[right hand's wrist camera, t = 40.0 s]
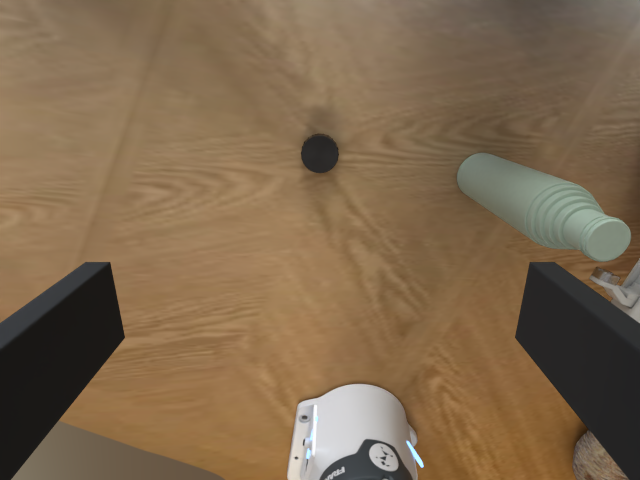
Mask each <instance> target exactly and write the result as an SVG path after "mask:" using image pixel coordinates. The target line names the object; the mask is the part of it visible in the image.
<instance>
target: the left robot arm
mask: <svg viewBox="0 0 640 480" xmlns="http://www.w3.org/2000/svg"><path fill="white" fill-rule="evenodd" d="M589 279H590V280H592V281H593V282H595V283H597V284H599V285H601V286H603V288H604V289H605V291H606V292H607V294H608V295H609V296H611V297H612V298H613V299H612V300H611V303H612V304H614V305H615V306H616V307H618V308H619V309H621V310H622V311H623V312H625V313H626V314H628V315H629V316H630V317H632V318H633V319H635V320H636V321H637V322H639V323H640V258H639V260H638V261H637V263H636V264H635V266H634V267H633V269H632V270H631V272H630V273H629V275H628V276H627V278H626V279H625V281H624V282H623V284H622V285H621V286H619V285H616V284H617V283H618V281H619V280H620V277H618V276H617V275H614V274H613V273H612V272H610V271H608V270H605V269H601V268H599V267H596V268H595V270H594V271H593V273H592V275H591V276H590V278H589ZM304 415H306V416H304ZM416 443H417V435H416V432H415V431H414V430H413V428H412V427H411V426H410V425H409V424H408V422H407V418H406V414H405V410H404V408H403V406H402V404H401V403H400V401H399V400H398V399H397V398H396V397H395V396H394V395H393V394H391V393H390V392H388V391H386V390H384V389H382V388H380V387H377V386H373V385H367V384H351V385H345V386H342V387H339V388H336V389H334V390H332V391H330V392H328V393H326V394H325V395H323V396H321V397H319V398H315V399H310V400H305V401H303V402H301V403H299V404H298V407H297V412H296V419H295V425H294V431H293V437H292V444H291V450H290V456H289V462H288V469H287V478H288V480H417V479H418V476H417V469H416V463H415V459H416V460H417V462H418V463H419V465H420V466H421V467H423V463H422V461H421V459H420V458H419V456H418V455H417V453H416V452H415V450H414V449H413V447H414V446H415V445H416Z"/></svg>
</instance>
